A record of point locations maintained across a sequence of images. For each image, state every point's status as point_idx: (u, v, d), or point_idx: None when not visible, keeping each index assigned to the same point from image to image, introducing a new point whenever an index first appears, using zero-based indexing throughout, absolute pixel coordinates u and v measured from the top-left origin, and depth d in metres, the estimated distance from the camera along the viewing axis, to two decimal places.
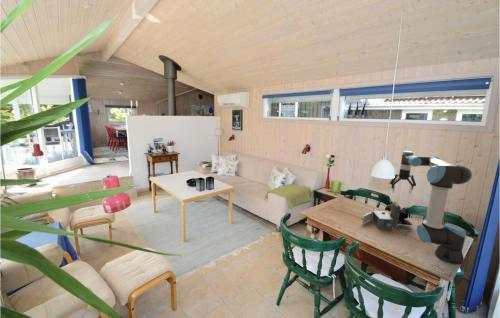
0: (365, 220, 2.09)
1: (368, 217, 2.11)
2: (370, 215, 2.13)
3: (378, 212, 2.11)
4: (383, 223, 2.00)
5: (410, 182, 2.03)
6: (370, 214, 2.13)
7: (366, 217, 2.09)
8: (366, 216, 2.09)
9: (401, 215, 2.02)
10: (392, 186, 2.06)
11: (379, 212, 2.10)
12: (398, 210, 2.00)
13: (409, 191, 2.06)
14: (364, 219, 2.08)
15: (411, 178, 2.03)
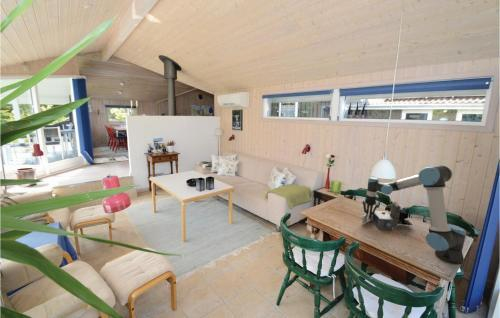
0: (365, 220, 2.09)
1: None
2: None
3: (378, 212, 2.11)
4: (383, 223, 2.00)
5: (370, 210, 2.03)
6: None
7: (366, 217, 2.09)
8: None
9: (401, 215, 2.02)
10: (366, 214, 2.07)
11: (379, 212, 2.10)
12: (398, 210, 2.00)
13: None
14: (364, 219, 2.08)
15: (375, 206, 2.02)
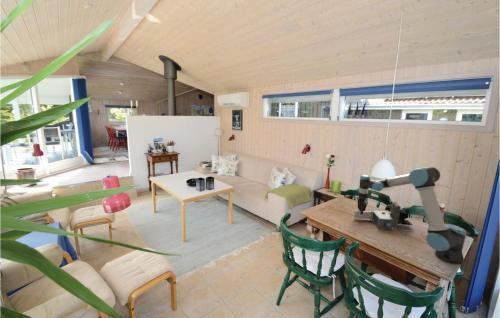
0: None
1: (364, 215, 2.15)
2: (368, 214, 2.15)
3: (378, 212, 2.11)
4: (383, 223, 2.00)
5: (361, 206, 2.10)
6: (368, 213, 2.15)
7: None
8: None
9: (401, 215, 2.02)
10: (359, 210, 2.14)
11: (379, 212, 2.10)
12: (398, 210, 2.00)
13: None
14: (357, 215, 2.16)
15: None
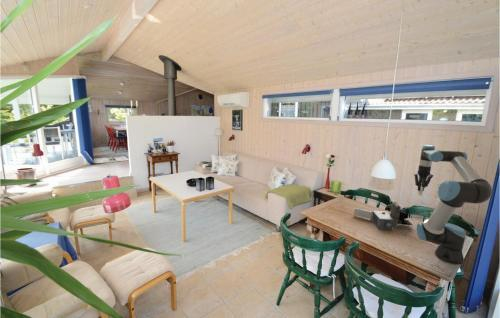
0: (358, 214, 2.21)
1: (364, 214, 2.18)
2: (368, 213, 2.16)
3: (378, 212, 2.11)
4: (383, 223, 2.00)
5: (424, 182, 1.81)
6: (368, 212, 2.16)
7: (360, 212, 2.20)
8: (359, 210, 2.20)
9: (401, 215, 2.02)
10: (418, 188, 1.83)
11: (379, 212, 2.10)
12: (398, 210, 2.00)
13: None
14: (356, 212, 2.22)
15: (428, 177, 1.81)
